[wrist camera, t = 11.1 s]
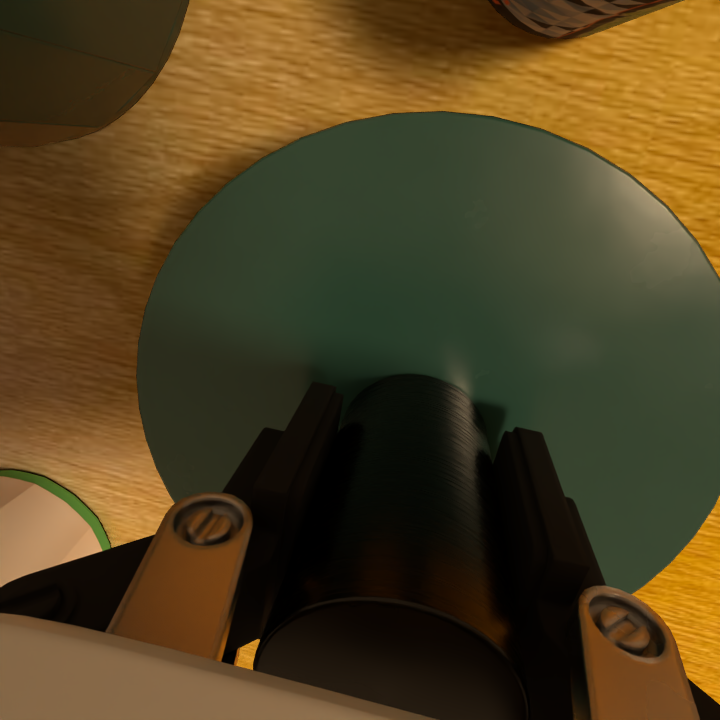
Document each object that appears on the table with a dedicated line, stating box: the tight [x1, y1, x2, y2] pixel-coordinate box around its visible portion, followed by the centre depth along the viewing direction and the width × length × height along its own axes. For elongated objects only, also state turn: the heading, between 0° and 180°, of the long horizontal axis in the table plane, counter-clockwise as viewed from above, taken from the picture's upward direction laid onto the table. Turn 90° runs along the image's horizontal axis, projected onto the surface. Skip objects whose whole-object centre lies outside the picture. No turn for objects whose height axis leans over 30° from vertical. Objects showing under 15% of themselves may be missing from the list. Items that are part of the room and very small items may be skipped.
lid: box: [136, 111, 720, 720], centre depth 10 cm, size 15×15×8 cm
